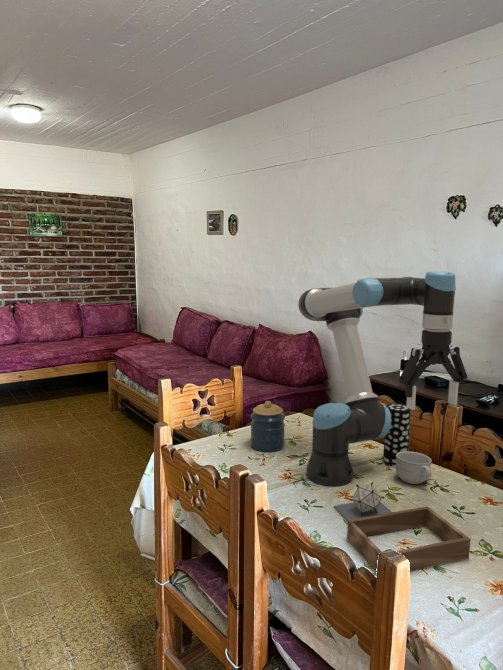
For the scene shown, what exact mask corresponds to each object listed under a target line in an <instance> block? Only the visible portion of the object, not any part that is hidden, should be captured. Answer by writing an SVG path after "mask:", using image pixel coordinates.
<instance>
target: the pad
mask: <svg viewBox="0 0 503 670" xmlns="http://www.w3.org/2000/svg"><path fill="white" fill-rule="evenodd" d="M333 508H334V509H335V510H336V511H337V512H338V513H339V514H340V516H341V517H342V518H343V519H344V520H345V521H346V522H347V523H348V520H353V519H358V518H364V517H370V516H376V515H381V514H387V513H393V512H394V511H392V510H391V509H390V508H388V507H387V506H386V505H385V504H384V503H382V501H380V503H379V505H378V507H377V513H376V512H375V511H372V512H367V513H363V514H362V516H361V515H360V514H361V511H360V510H359V509H358V507H357V506H356V505H355V503H354V502H353V501H352V502H348V503H343V504H342V503H341V504H337V505H336V504H335V505H333Z"/></svg>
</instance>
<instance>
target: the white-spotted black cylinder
mask: <svg viewBox="0 0 503 670" xmlns="http://www.w3.org/2000/svg"><path fill="white" fill-rule="evenodd" d="M385 405H386V407H388V409H389V411H390V414H391V427H390V429H389V432H388V433H387V435H386V436H384V437H383V438H384V439H383V440H384V441H383V453H382V454H383V456H382V457H383V458H382V461H383V463H384V464H385V465H387V466H389V467H394V468H396V454H397V453H399V452H403V451H409V447H410V433H411V415H412V410H411V409H409V408H407V407H406V405H407V404H401V403H390V404H385ZM409 452H410V451H409Z"/></svg>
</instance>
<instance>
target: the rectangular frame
mask: <svg viewBox="0 0 503 670" xmlns="http://www.w3.org/2000/svg"><path fill="white" fill-rule="evenodd" d="M392 512H393V513H387V514H381V515H376V516H370V517H364V518H358V519H353V520H348V522H347V525H346V527H347V529H346V539H347V541H349V543H350V544H351V546H353V548H355V550H356V551H357V552H358V553H359V554H360V555H361V557H363V559H365V560H366V562H367V563H368V564H369V566H371V568H373V570H375V572H376V568H377V560H378V555H379V553H381V552H383V551H382V550H381V549H380V548H379V547H378V546H377V545H376V543H374V542H373V540H371V539H370V538H371V537H375V536H376V537H377V536H380V535H385V534H386V535H387V534H391V533H397V532H401V531H406V530H413V529H416V528H417V529H418V528H423V527H426V528H427V529H429V530H430V532H432V533H433V534H434V535H436V536H437V537H438V538H439V539H440V540H442V541H439V542H436V543H430V544H425V545H420V546H416V547H415V546H414V547H411V548H410V547H409V548H405V549H401V550H397V552H399V553H401V554H402V555H404V556H405V557H406V558H407V559H408V560H409V562H410V570H411V571H410V572H412V571H417V570H423V569H425V568H431V567H434V566H440V565H444V564H448V563H454V562H457V561H458V562H460V561H462V560H467V559H469V558H470V551H471V550H470V549H471V538H470V537H469V536H468V535H466V534H464V533H463V532H462V531H461V530H459V528H457V527H456V526H454V524H453V525H452V523H450V522H449V521H448V520H447V519H445V518H444V517H442V516H441V515H440V514H438V513H437V512H436V511H435V510H433V509H432V508H430V507H429V506H422V507H416V508H411V509H410V508H409V509H404V510H400V511H399V510H398V511H392Z"/></svg>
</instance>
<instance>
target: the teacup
mask: <svg viewBox="0 0 503 670" xmlns="http://www.w3.org/2000/svg"><path fill="white" fill-rule="evenodd" d="M431 465H432V458H431V457H429V456H427V455H426V454H423V453H421V452H417V451H403V452H399V453H397V454H396V467H395V473H396V475H397V476H398V478H400V479H401V481H403V482H405V483H407V484H411V485H412V484H413V485H420V484H422V483H424V482H425V481H427V480H429V479H430V478H431V477H432V470H431Z"/></svg>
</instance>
